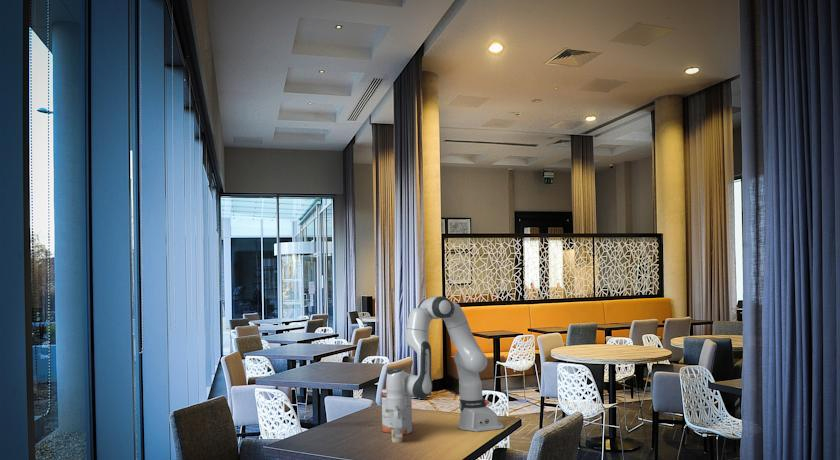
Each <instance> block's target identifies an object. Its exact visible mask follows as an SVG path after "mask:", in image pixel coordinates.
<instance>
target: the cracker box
mask: <svg viewBox="0 0 840 460" xmlns="http://www.w3.org/2000/svg"><path fill="white" fill-rule="evenodd" d="M386 397H387V390H386V388H383V389H381V418H382V419H381V420H382V421H381V423H382V424H381V425H382V430H381V431H382V433H389V434H390V433H391V434H392V429H393V425H392V422H391V420H390V415H389V409H387V408H386ZM412 407H413V406H412V396H410V395H405V409H403V412H402V429H401V430H402V435H409V434H411V433H413V412H412V411H413V410H412V409H413V408H412Z"/></svg>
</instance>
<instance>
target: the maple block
mask: <svg viewBox="0 0 840 460" xmlns="http://www.w3.org/2000/svg"><path fill="white" fill-rule="evenodd" d="M391 442H392V443H402V442H403V434H402V430H401V429H400V433H399V437H398V438H396V437H395V429H392V433H391Z"/></svg>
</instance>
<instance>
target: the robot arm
mask: <svg viewBox="0 0 840 460" xmlns="http://www.w3.org/2000/svg"><path fill="white" fill-rule="evenodd" d="M439 319H442V320H443V321H444V324H445V327H446V329H447V333H448V335H449V338H450V341H451V343H452V345H454V347H455V349H456V351H455V353H454V355H453V360H454V362H455V365H456V370H457V376H458V379H459V385H460V386H459V390H460V398H459V410H460V414H459V421H458V422H459V423H458V429H460V430H462V431H463V430H464V431H471V432H476V433H477V432H485V431H494V430H502V429H503V428H504V424H503V423H502V422H500V421H499V420H500V419H499V417H498V414H497V413H496V412H495V411H494V410H493V409H492V408H489V406H488V405H489V404H490V401H489V400H488V399H485V398H484V397H483V382H482V380H481V377H480V373H482V372H483V371H484V370H486V368H487V365H488V358H487V356H486V355H485V354H484V352H483V350H482V349H481V347H480V345H479V343H478V342H477V340H476V338H475V336H474V334H473V332H472V330H471V327H470V324H469V321H468V320H467V319H468V318H467V317H466V314H465V313H464V310H463V309H462V307H461V306H460V304H458V303H457V302H452V301H451V300H450V299H449V298H448V297H446V296H437V295H436V296H431V297H426V298H424V299H422V300H421V301H420V303H419V305H418V306H417V307H415V308H412V309H411V310H410V311H409V315H408V318H407V321H406V327H405V333H404V338H405V339H404V340H405V342H406V344H407V345H408V347H409V348H410V349H412V351H414V352H416V354H417V357H418V373H417V375H415V374H411V373H408V372H406V371H404V369H402V368H393V369H390V370H388V372H387V373H386V379H385V389H386V390H387V397H386V408H387V409H389V415H390V420H391V422H392V425H393V429H395V437H396V438H398V437H399V433H400V429H402V412H403V409H405V395H410V396H411V397H415V398H419V399H422V400H423V399H426V398H428V397H429V395H431V393H432V391H433V381H432V347H431V345H430V341H429V330H430V324H431V322H432V320H439Z"/></svg>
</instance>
